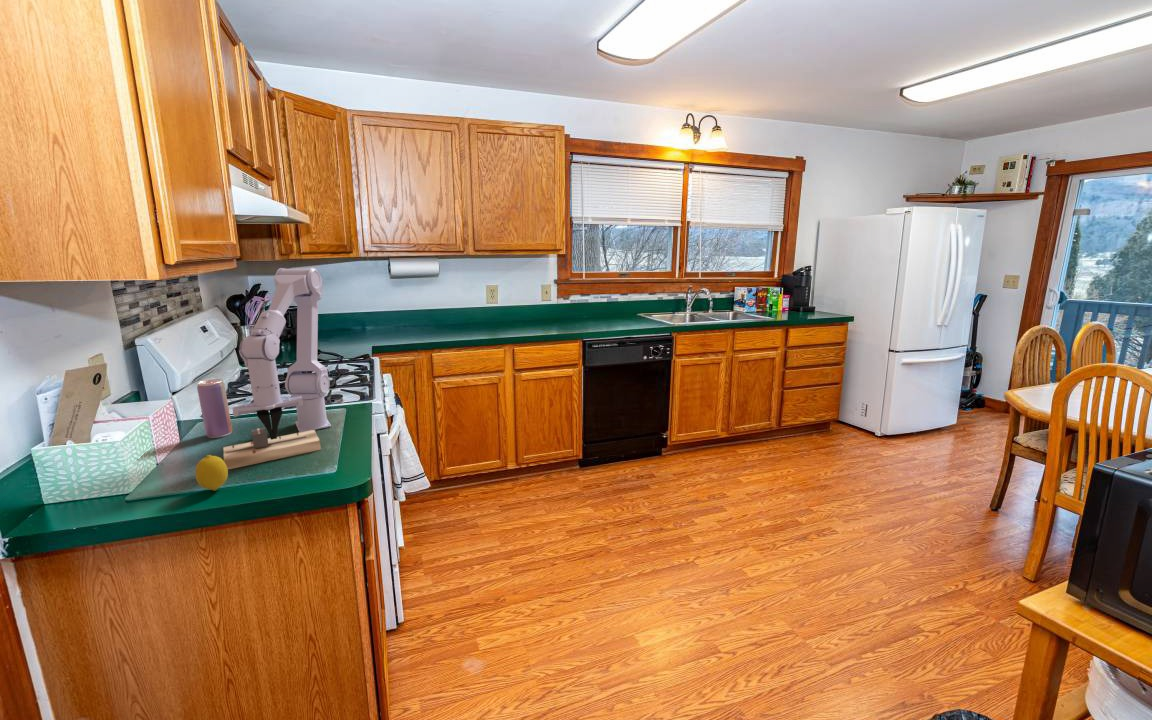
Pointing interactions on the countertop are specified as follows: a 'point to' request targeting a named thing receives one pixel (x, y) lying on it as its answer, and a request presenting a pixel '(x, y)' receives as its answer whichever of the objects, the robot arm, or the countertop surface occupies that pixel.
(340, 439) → the countertop surface
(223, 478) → the lemon
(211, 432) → the beverage can
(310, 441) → the console
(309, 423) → the robot arm
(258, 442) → the fader
